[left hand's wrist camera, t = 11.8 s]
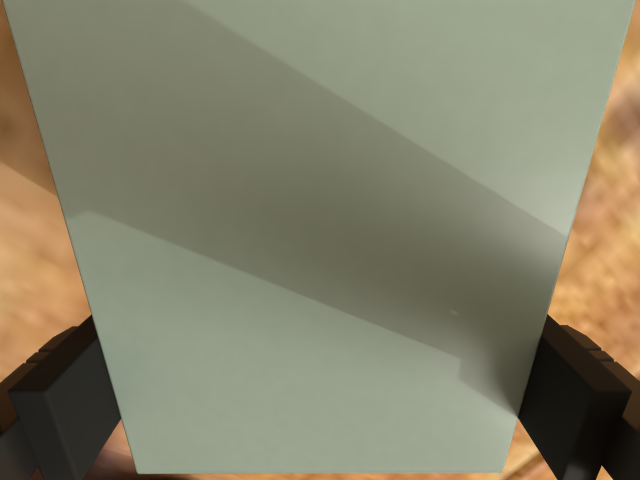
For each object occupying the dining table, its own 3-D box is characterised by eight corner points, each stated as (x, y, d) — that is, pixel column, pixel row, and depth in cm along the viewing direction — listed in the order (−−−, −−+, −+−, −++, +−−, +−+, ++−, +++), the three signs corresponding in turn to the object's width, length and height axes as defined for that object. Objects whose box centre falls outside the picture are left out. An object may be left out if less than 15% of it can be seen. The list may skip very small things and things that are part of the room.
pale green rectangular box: (169, -152, 13) (-251, -872, 3) (468, -152, 13) (885, -866, 3) (223, 298, 20) (135, 475, 10) (415, 298, 20) (503, 473, 10)
